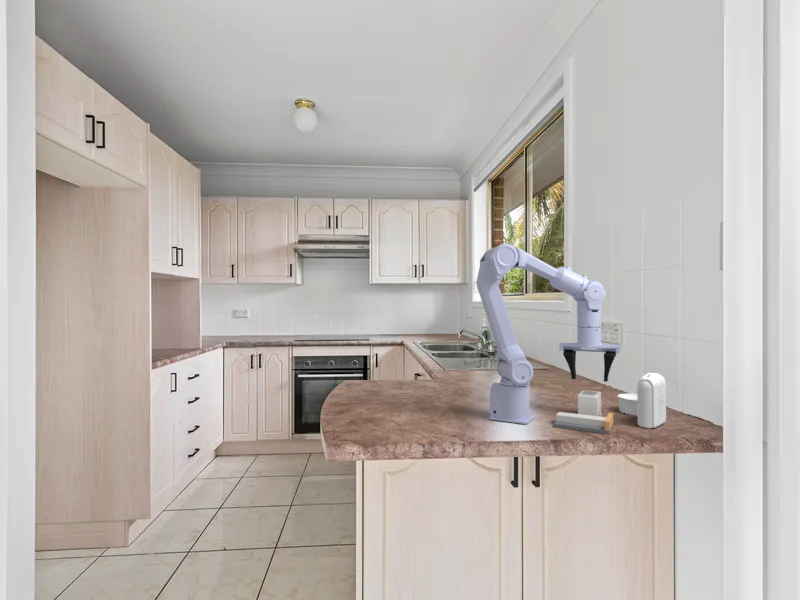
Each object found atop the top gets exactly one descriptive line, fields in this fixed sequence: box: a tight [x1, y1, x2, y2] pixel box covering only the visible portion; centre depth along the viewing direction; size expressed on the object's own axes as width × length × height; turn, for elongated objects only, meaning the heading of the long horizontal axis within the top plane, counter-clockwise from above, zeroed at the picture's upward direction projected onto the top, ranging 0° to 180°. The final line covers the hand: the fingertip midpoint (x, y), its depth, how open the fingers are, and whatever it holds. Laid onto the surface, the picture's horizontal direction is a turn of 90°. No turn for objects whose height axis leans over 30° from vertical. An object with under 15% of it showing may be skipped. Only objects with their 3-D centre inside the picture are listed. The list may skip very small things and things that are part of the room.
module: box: [577, 389, 602, 417], centre depth 115 cm, size 4×8×6 cm, turn 149°
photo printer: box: [636, 372, 667, 429], centre depth 108 cm, size 10×4×12 cm, turn 134°
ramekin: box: [616, 393, 638, 417], centre depth 119 cm, size 9×9×4 cm
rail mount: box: [553, 411, 614, 435], centre depth 106 cm, size 12×9×3 cm
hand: (589, 379), depth 115 cm, fingers open, 7 cm apart
